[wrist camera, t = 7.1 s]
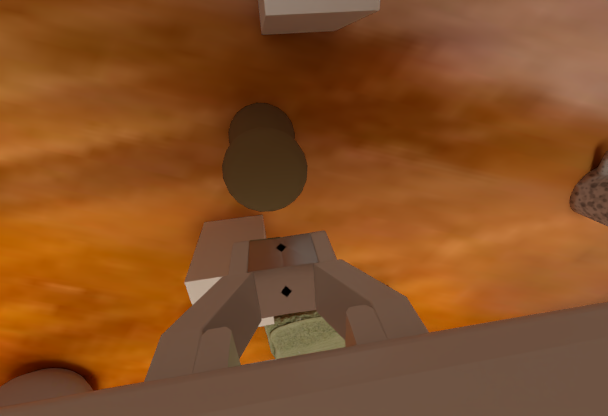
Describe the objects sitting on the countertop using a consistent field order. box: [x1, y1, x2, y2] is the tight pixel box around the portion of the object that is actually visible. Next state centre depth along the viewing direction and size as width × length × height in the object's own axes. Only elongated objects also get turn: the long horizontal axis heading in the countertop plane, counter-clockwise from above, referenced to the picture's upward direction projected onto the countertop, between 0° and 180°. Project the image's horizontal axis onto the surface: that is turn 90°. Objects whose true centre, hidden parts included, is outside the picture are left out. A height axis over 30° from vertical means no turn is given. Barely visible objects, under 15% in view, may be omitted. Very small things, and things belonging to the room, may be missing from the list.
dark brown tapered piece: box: [222, 103, 307, 212], centre depth 20 cm, size 6×6×11 cm
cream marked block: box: [185, 215, 274, 327], centre depth 26 cm, size 6×6×9 cm
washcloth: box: [264, 310, 345, 359], centre depth 38 cm, size 13×18×3 cm
